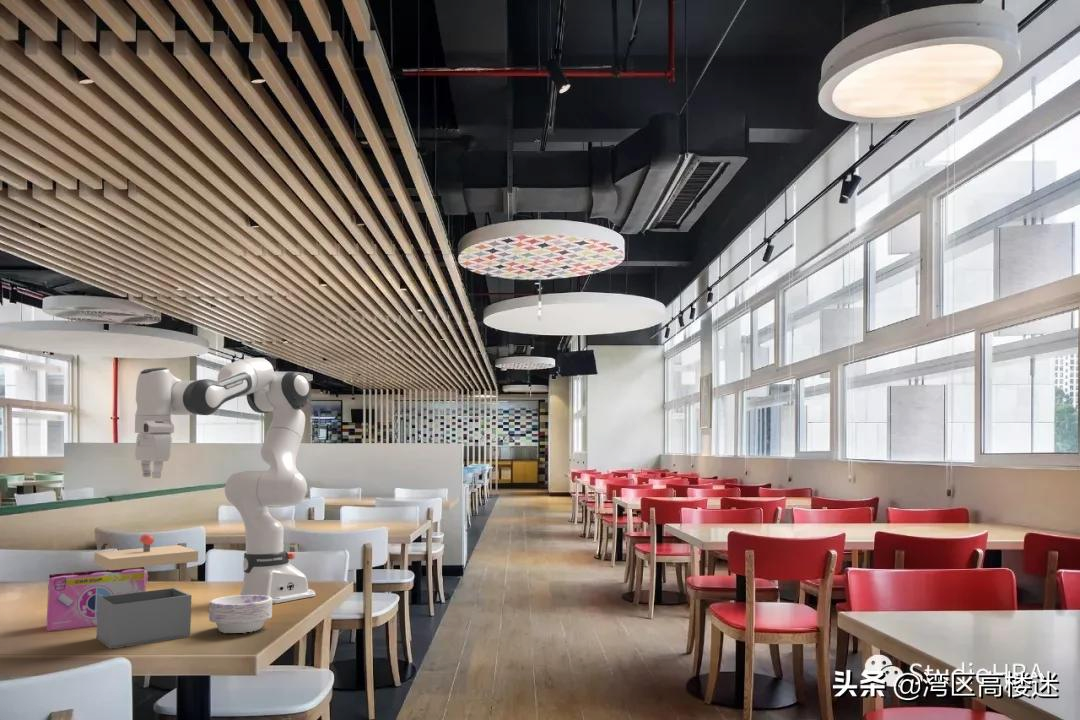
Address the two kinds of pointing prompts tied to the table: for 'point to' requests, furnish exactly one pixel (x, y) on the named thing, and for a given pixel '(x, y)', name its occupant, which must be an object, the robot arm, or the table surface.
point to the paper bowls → (240, 612)
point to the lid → (145, 556)
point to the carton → (143, 617)
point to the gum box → (87, 594)
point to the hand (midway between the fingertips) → (151, 477)
